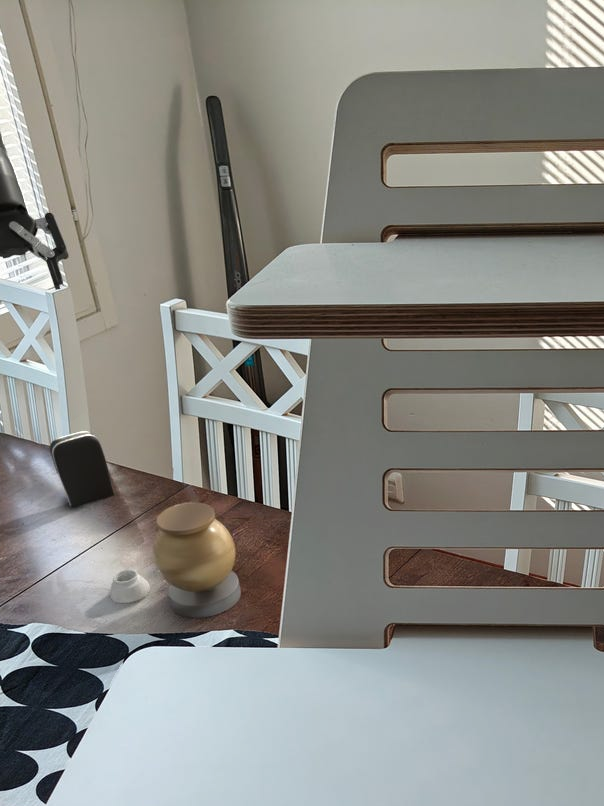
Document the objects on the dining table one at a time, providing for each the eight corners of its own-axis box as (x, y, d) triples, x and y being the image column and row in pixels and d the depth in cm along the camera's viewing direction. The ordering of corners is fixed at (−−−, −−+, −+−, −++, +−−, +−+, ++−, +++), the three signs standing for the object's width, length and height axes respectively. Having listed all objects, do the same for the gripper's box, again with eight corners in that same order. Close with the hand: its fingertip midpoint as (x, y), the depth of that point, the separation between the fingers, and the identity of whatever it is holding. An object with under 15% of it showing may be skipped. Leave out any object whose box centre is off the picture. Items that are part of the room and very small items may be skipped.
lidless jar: (108, 590, 130) (115, 609, 127) (102, 572, 128) (109, 590, 125) (145, 579, 132) (154, 598, 128) (140, 561, 130) (148, 579, 127)
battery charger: (111, 493, 152) (91, 425, 145) (119, 502, 149) (99, 433, 142) (66, 507, 149) (43, 438, 142) (73, 517, 146) (50, 447, 139)
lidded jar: (163, 624, 124) (139, 541, 116) (171, 581, 131) (148, 500, 124) (243, 615, 125) (224, 532, 117) (246, 572, 132) (228, 492, 125)
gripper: (-70, 180, 134) (-34, 290, 133) (38, 163, 138) (74, 270, 137) (-55, 210, 141) (-21, 315, 140) (47, 193, 145) (81, 295, 144)
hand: (26, 292), depth 139 cm, fingers open, 8 cm apart
